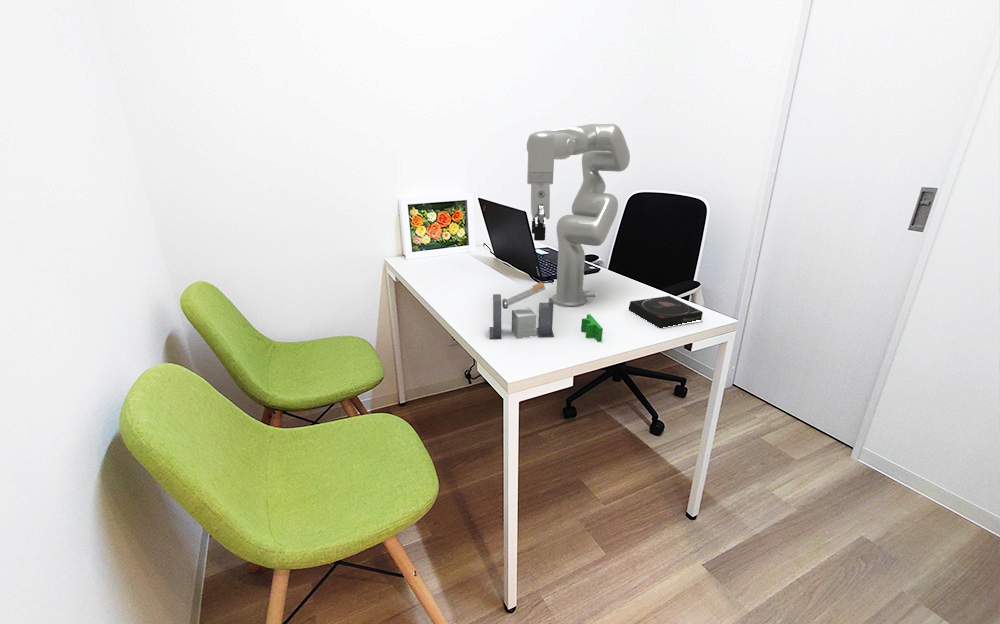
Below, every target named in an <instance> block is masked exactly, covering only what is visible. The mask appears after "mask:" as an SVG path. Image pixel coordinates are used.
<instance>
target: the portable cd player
mask: <svg viewBox="0 0 1000 624" xmlns="http://www.w3.org/2000/svg"><path fill="white" fill-rule="evenodd" d="M628 311H629V312H631V313H632V312H633V313H632V314H634V313H635V314H634V315H636V316H637V315H638V317H639V316H640V317H639V318H641V319H642V318H643V320H644V319H645V321H646V320H647V321H646V322H648V323H649V322H650V324H651V323H652V324H651V325H653V324H654V325H655V327H656V326H657V327H656V328H658V327H659V328H662V329H664V328H663V327H668V326H673V325H678V324H682V323H687V322H692V321H696V320H701V321H702V319H703V318H702V317H703V313H704V312H703V311H702V310H700V309H697V308H695V307H693V306H691V305H689V304H687V303H686V302H683V301H682V300H678V299H677V298H674V297H673V296H671V295H665V296H660V297H658V296H657V297H651V298H645V299H637V300H631V301H629V305H628ZM654 325H653V326H654ZM659 328H658V329H659ZM668 328H669V327H668Z"/></svg>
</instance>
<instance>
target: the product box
mask: <svg viewBox="0 0 1000 624" xmlns="http://www.w3.org/2000/svg"><path fill="white" fill-rule="evenodd" d="M536 328H537V314H536V313H535V312H534V310H532V309H531V308H530V307H524V308H518V309H512V310H511V332H512V333H513V334H514V336H516V338H517V339H518V338H519V339H524V338H523V337H526V338H531V337H530V336H533V337H536V334H537V330H536Z"/></svg>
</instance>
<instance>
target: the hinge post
mask: <svg viewBox="0 0 1000 624" xmlns="http://www.w3.org/2000/svg"><path fill="white" fill-rule="evenodd" d="M492 298H493V299H492V316H493V319H492V321H493V323H492V324H493V325H492V326H489V340H502V295H501V294H499V293H495V294H492Z"/></svg>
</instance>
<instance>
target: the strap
mask: <svg viewBox="0 0 1000 624" xmlns="http://www.w3.org/2000/svg"><path fill="white" fill-rule="evenodd" d="M545 286H546V285H545V284H544V283H543V282H542V281H541V282H538V283H536V284H533V285H532V287H531V288H528V289H527V290H524V291H522V292H520V293H518V294H516V295H514V296H511V297H509V298H507V299H506V298H503V299H501V305H502V308H503V309H504V310H506V309H508V308H509V306H511V305H513V304H516V303H519V302H521V301H523V300H525V299H528V298H530V297H532V296H533V295H537V294H538V293H540V292H543V291H546V287H545Z"/></svg>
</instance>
